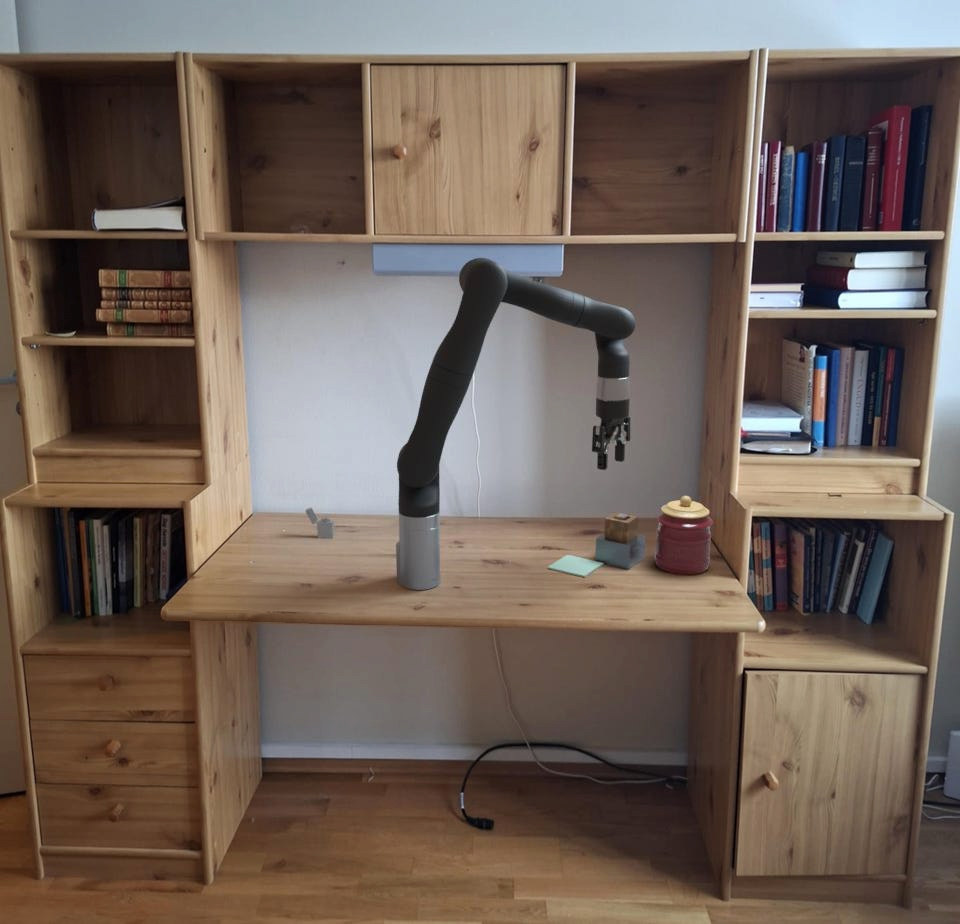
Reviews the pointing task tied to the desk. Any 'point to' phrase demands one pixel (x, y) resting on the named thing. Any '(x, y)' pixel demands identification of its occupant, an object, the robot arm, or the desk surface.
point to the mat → (575, 565)
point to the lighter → (321, 525)
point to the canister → (683, 537)
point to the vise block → (620, 550)
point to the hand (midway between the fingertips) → (610, 465)
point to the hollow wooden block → (621, 528)
